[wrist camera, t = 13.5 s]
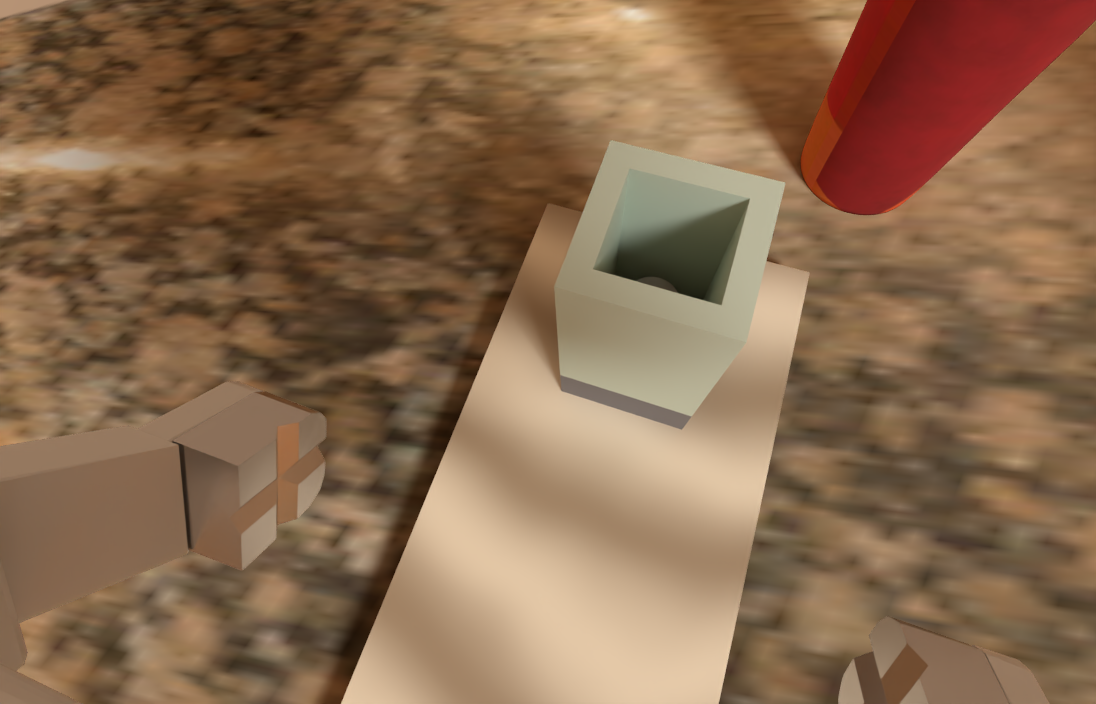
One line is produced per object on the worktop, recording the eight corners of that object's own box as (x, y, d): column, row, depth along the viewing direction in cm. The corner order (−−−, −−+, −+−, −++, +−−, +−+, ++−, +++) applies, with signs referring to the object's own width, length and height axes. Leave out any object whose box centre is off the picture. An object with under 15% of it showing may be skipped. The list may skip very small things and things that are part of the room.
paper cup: (973, 195, 27) (1333, -149, 14) (841, 259, 26) (1099, -46, 13) (869, 86, 30) (1093, -285, 17) (746, 142, 29) (884, -208, 16)
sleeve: (598, 287, 25) (610, 139, 16) (711, 319, 24) (785, 182, 16) (561, 390, 23) (554, 286, 15) (681, 429, 22) (746, 342, 14)
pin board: (549, 221, 28) (542, 123, 22) (796, 288, 26) (864, 202, 20) (324, 774, 20) (215, 861, 14) (657, 930, 18) (699, 1108, 12)
